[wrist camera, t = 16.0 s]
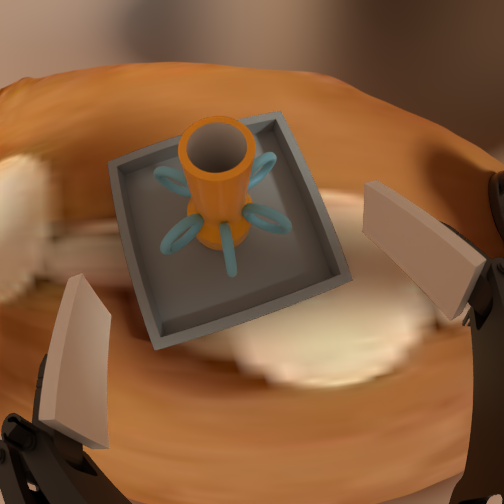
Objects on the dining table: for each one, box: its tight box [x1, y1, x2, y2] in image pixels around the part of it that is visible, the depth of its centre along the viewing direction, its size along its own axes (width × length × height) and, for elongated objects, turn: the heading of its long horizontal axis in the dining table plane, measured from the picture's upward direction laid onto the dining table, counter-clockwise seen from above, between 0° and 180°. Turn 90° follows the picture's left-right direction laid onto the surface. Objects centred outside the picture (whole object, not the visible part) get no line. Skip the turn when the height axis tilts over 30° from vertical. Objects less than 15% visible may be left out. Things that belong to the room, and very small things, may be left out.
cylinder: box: [154, 116, 292, 277], centre depth 21 cm, size 12×10×15 cm
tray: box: [108, 111, 353, 350], centre depth 27 cm, size 20×20×4 cm
